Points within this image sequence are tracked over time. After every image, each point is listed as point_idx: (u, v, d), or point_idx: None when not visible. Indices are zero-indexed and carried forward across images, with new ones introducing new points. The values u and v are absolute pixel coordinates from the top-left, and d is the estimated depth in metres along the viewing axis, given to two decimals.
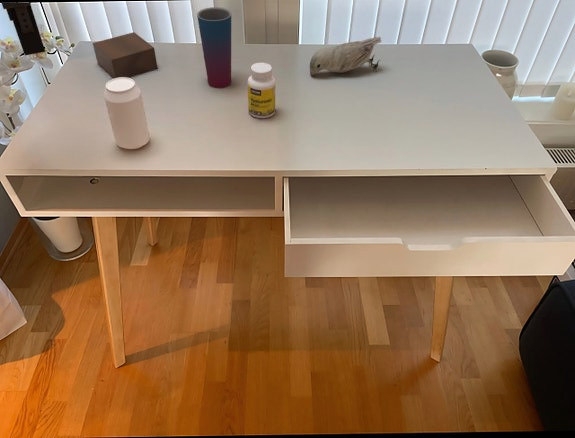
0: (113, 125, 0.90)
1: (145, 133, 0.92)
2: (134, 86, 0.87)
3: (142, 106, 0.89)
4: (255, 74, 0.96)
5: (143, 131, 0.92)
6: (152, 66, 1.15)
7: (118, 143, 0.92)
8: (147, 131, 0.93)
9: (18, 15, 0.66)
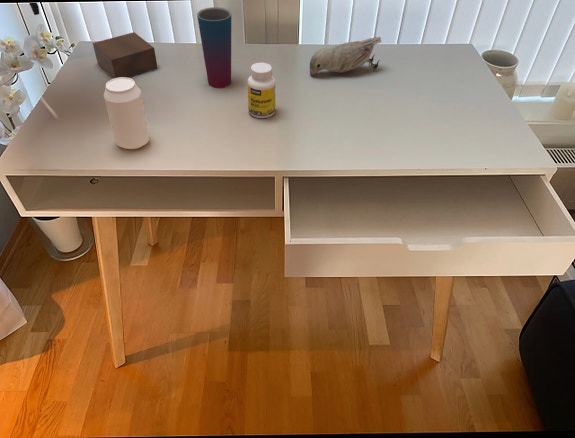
0: (113, 125, 0.90)
1: (145, 133, 0.92)
2: (134, 86, 0.87)
3: (142, 106, 0.89)
4: (255, 74, 0.96)
5: (143, 131, 0.92)
6: (152, 66, 1.15)
7: (118, 143, 0.92)
8: (147, 131, 0.93)
9: None
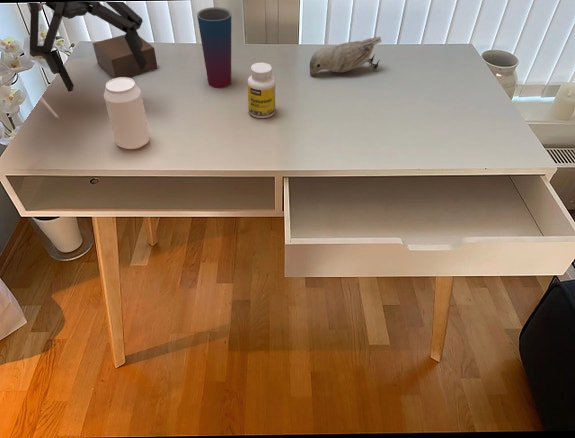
0: (113, 125, 0.90)
1: (145, 133, 0.92)
2: (134, 86, 0.87)
3: (142, 106, 0.89)
4: (255, 74, 0.96)
5: (143, 131, 0.92)
6: (152, 66, 1.15)
7: (118, 143, 0.92)
8: (147, 131, 0.93)
9: (137, 34, 0.94)
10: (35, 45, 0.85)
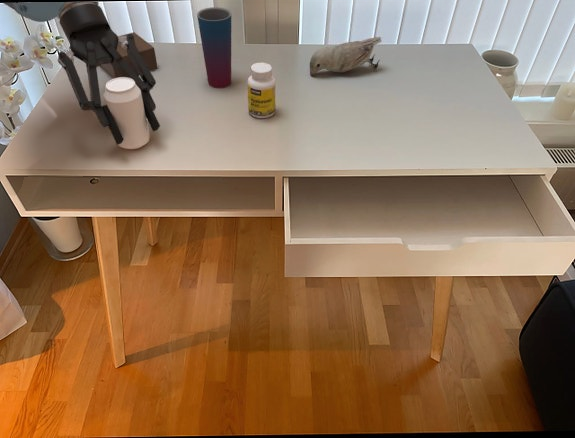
0: None
1: (145, 133, 0.92)
2: (134, 86, 0.87)
3: (142, 106, 0.89)
4: (255, 74, 0.96)
5: (143, 131, 0.92)
6: (152, 66, 1.15)
7: None
8: (147, 131, 0.93)
9: (150, 95, 0.92)
10: (86, 100, 0.86)
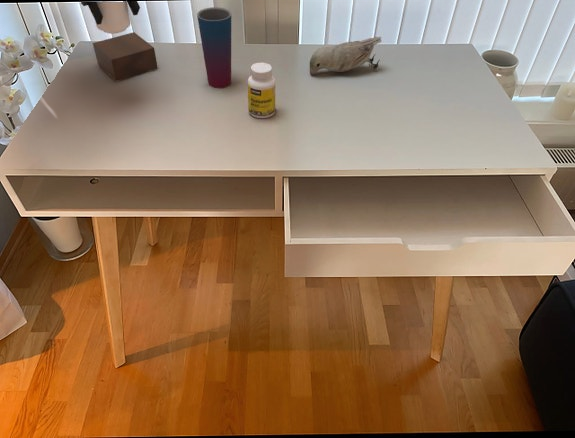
0: None
1: (125, 16, 0.93)
2: None
3: None
4: (255, 74, 0.96)
5: (123, 13, 0.92)
6: (152, 66, 1.15)
7: (99, 26, 0.93)
8: (128, 15, 0.94)
9: None
10: None
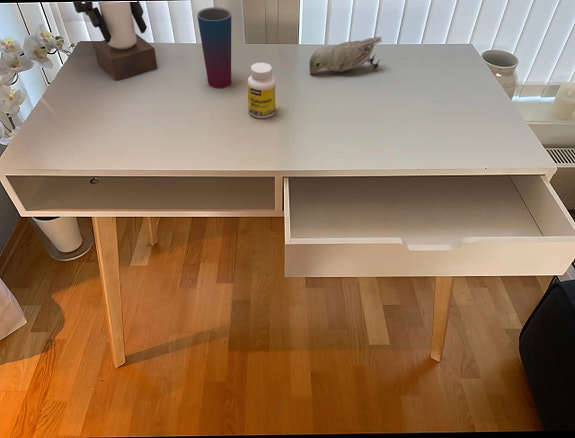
0: None
1: (132, 35, 1.10)
2: None
3: (130, 10, 1.08)
4: (255, 74, 0.96)
5: (131, 32, 1.10)
6: (152, 66, 1.15)
7: (110, 43, 1.10)
8: (134, 34, 1.11)
9: (139, 2, 1.10)
10: (80, 2, 1.04)
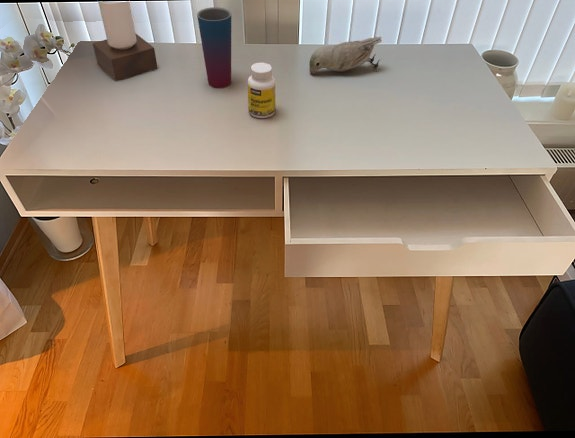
0: (105, 26, 1.08)
1: (132, 35, 1.10)
2: None
3: (129, 10, 1.08)
4: (255, 74, 0.96)
5: (131, 32, 1.10)
6: (152, 66, 1.15)
7: (110, 43, 1.10)
8: (134, 34, 1.11)
9: None
10: None
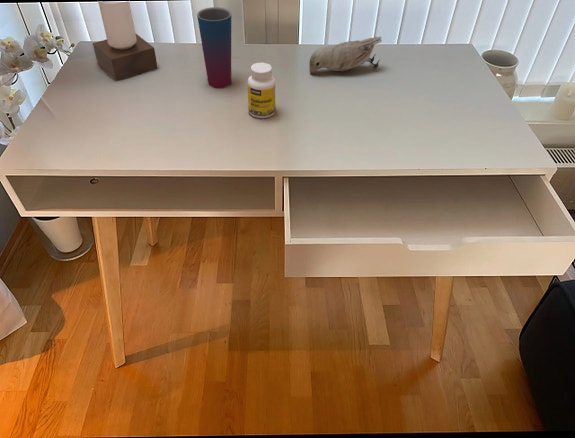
0: (105, 26, 1.08)
1: (132, 35, 1.10)
2: None
3: (129, 10, 1.08)
4: (255, 74, 0.96)
5: (131, 32, 1.10)
6: (152, 66, 1.15)
7: (110, 43, 1.10)
8: (134, 34, 1.11)
9: None
10: None
